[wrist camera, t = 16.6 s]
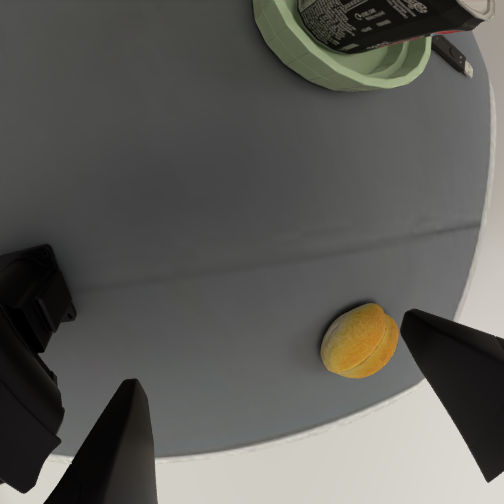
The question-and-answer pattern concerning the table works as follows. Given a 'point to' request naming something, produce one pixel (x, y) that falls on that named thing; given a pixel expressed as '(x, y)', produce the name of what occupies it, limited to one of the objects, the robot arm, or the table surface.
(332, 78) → the bowl
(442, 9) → the beverage can
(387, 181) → the table surface
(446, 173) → the table surface
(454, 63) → the usb flash drive
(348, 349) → the bread roll
